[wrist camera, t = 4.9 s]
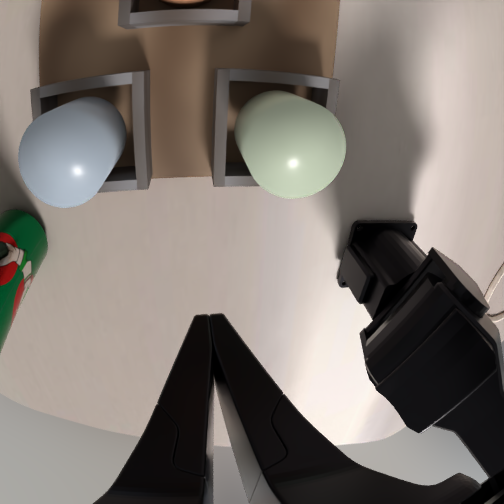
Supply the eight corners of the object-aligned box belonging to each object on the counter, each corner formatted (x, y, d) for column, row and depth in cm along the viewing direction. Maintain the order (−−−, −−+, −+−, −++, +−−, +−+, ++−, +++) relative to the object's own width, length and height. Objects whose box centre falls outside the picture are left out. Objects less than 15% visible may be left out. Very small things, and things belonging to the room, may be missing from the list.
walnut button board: (336, -53, 12) (360, -67, 9) (313, 172, 21) (332, 192, 18) (55, -50, 9) (34, -63, 6) (57, 181, 18) (37, 203, 15)
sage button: (319, 94, 15) (353, 107, 12) (309, 169, 18) (337, 199, 14) (236, 88, 14) (249, 96, 11) (232, 168, 17) (243, 199, 14)
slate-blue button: (125, 91, 13) (104, 102, 10) (129, 172, 16) (113, 204, 13) (48, 103, 13) (12, 119, 9) (57, 178, 15) (29, 211, 12)
